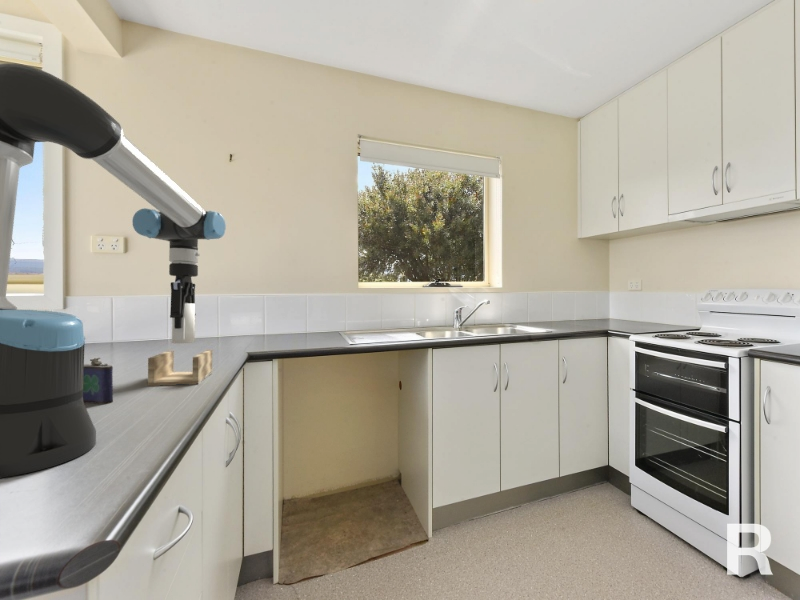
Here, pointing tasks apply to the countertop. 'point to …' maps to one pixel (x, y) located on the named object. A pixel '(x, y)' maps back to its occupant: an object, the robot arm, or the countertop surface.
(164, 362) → the holder
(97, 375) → the flask
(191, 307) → the roll
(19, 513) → the countertop surface
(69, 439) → the robot arm
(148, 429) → the countertop surface
